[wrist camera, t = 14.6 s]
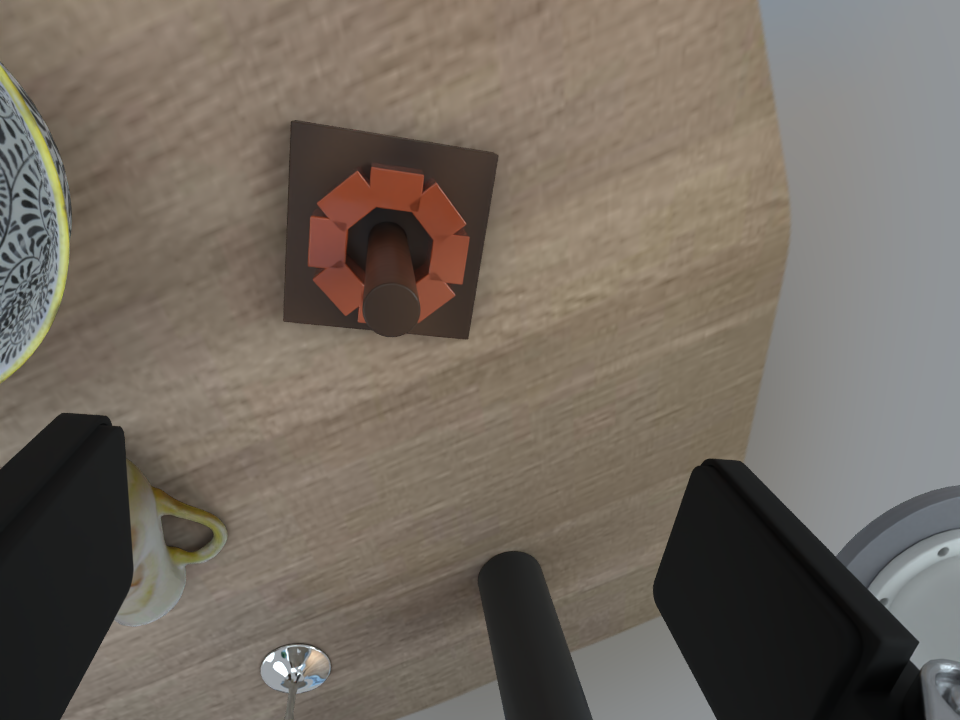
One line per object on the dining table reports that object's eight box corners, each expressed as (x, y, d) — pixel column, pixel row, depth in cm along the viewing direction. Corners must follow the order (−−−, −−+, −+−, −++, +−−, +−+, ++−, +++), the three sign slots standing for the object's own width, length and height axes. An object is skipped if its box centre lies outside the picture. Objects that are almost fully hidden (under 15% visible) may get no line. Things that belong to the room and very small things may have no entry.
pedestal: (547, 551, 38) (613, 731, 27) (534, 601, 40) (592, 790, 29) (483, 550, 37) (525, 735, 26) (472, 600, 39) (509, 795, 28)
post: (494, 152, 28) (559, 184, 18) (465, 331, 31) (505, 443, 21) (294, 119, 26) (240, 134, 16) (286, 313, 29) (237, 427, 19)
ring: (471, 177, 27) (478, 183, 25) (450, 318, 30) (455, 332, 28) (317, 153, 26) (312, 157, 24) (309, 303, 28) (304, 317, 26)
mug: (125, 605, 35) (-52, 699, 25) (108, 441, 35) (-75, 472, 26) (240, 598, 34) (101, 693, 24) (221, 428, 34) (76, 454, 24)
